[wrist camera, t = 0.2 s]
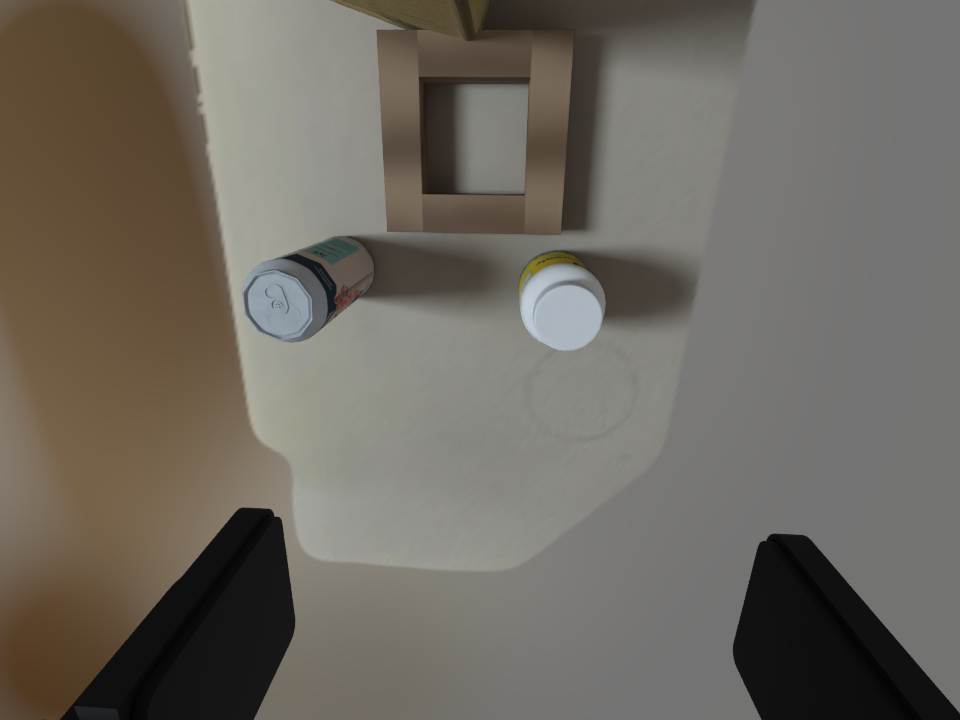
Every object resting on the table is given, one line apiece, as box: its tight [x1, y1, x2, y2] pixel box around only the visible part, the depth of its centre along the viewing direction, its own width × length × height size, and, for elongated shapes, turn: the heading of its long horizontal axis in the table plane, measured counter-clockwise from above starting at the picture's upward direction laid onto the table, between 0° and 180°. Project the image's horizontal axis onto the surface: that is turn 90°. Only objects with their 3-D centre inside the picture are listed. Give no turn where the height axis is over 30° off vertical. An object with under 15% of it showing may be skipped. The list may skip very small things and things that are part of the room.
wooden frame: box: [377, 30, 574, 235], centre depth 33 cm, size 12×12×2 cm
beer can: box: [242, 236, 374, 342], centre depth 32 cm, size 5×5×12 cm
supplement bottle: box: [519, 251, 606, 351], centre depth 33 cm, size 5×5×10 cm
